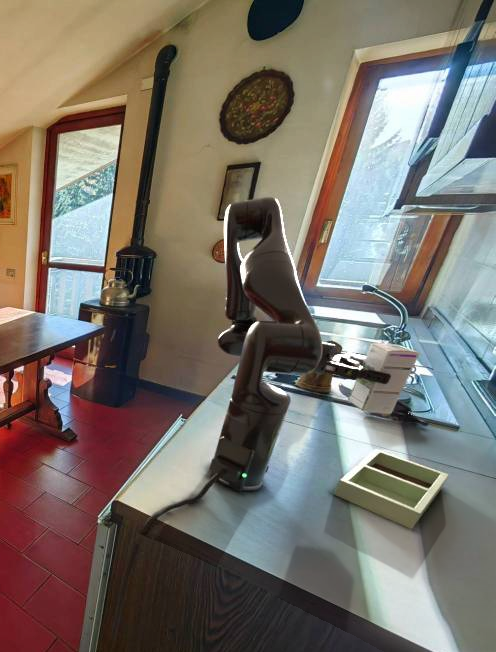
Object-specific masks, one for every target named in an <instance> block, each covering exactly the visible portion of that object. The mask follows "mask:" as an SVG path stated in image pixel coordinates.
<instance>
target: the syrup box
mask: <svg viewBox="0 0 496 652" xmlns="http://www.w3.org/2000/svg"><path fill="white" fill-rule="evenodd" d="M365 356H366V358H365V360H364V362H363V365H362V367H365V368H367V371H368V369H371V370H375V371H379V372H383V373H388V374H390V375H391V378H390V380H389V382H388V383H387V384H381V383H378V382H374V381H370V380H366V379H364V378H363V380H360V379H357V380H355V382H354V384H353V385H352V389H351V391H350V394H349V395H348V398H347V402H348V403H350V404H351V405H353V406H355V408H358V409H359V410H360V411H362V412H365V413H367V412H372V413H383V414H391V413H392V411H393V409H394V407H395V405H396V402H397V400H399V398H400V396H401V394H402V392H403V389H404V387H405V385H406V383H407V381H408V379H409V377H410V375H411V373H412V370H413V368H414V366H415V364H416V362H417V360H418V357H419V356H420V352H419V351H416V350H414V349H411V348H408V347H406V346H403V345H401V344H395V343H385V342H383V343H379V342H377V343H373V342H372V343H371V344H370V345H369V348H368V350H367V352H366V355H365Z"/></svg>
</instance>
